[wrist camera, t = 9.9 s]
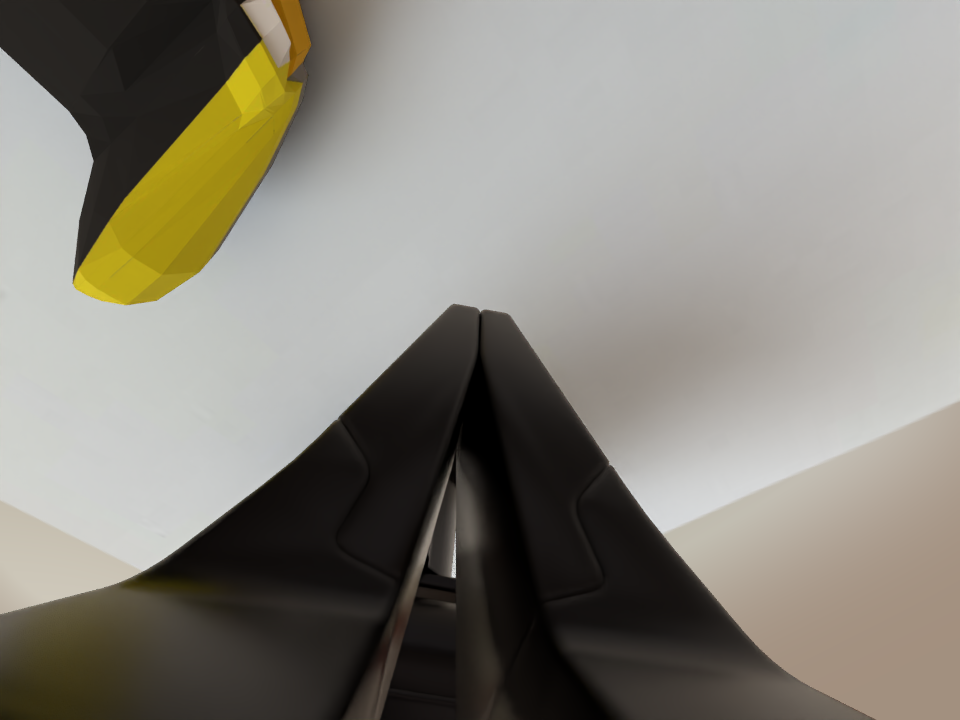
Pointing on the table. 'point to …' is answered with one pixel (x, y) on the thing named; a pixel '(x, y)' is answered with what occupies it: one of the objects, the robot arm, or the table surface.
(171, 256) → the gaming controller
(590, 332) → the table surface
